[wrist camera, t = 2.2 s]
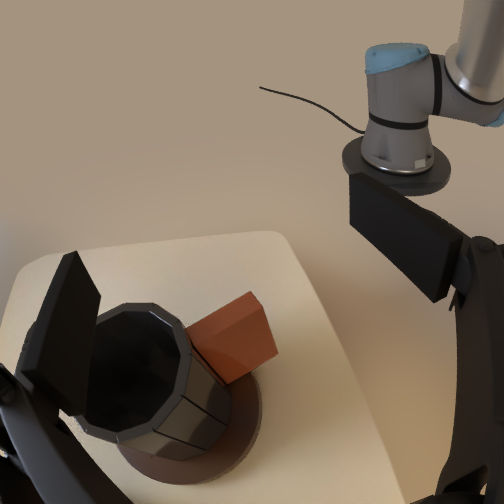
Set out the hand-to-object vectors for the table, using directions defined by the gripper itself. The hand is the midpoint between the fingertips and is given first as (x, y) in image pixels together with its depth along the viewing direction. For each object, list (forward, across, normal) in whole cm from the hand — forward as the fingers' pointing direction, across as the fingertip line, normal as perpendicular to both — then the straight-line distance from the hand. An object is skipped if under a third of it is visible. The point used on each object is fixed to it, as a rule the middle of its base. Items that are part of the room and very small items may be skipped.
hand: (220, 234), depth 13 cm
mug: (+3, -6, -18) cm, 19 cm away
